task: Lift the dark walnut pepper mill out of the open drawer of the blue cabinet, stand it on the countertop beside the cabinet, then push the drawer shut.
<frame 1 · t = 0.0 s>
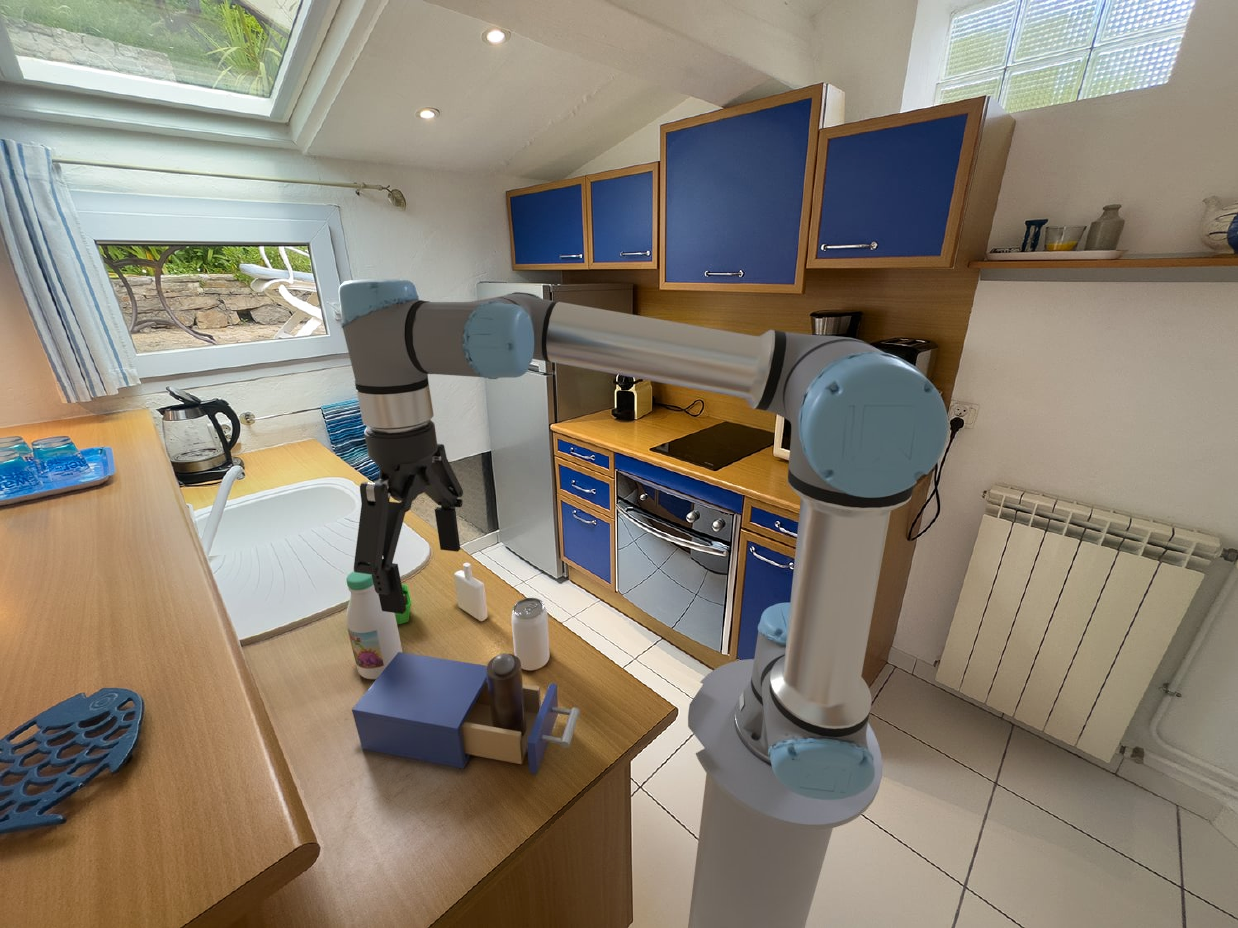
hand: (425, 577, 65), 31 cm above the counter, tool pointing down, fingers open, 13 cm apart
perfume bottle: (473, 612, 105), on the counter
pepper mill: (510, 729, 77), point 2 cm above the counter, touching drawer
milk bottle: (381, 665, 91), on the counter
fruit basket: (383, 620, 102), on the counter
drawer: (512, 720, 76), point 4 cm above the counter, slide at 10.0 cm, touching pepper mill
cabinet: (432, 725, 80), on the counter
can: (532, 659, 93), on the counter
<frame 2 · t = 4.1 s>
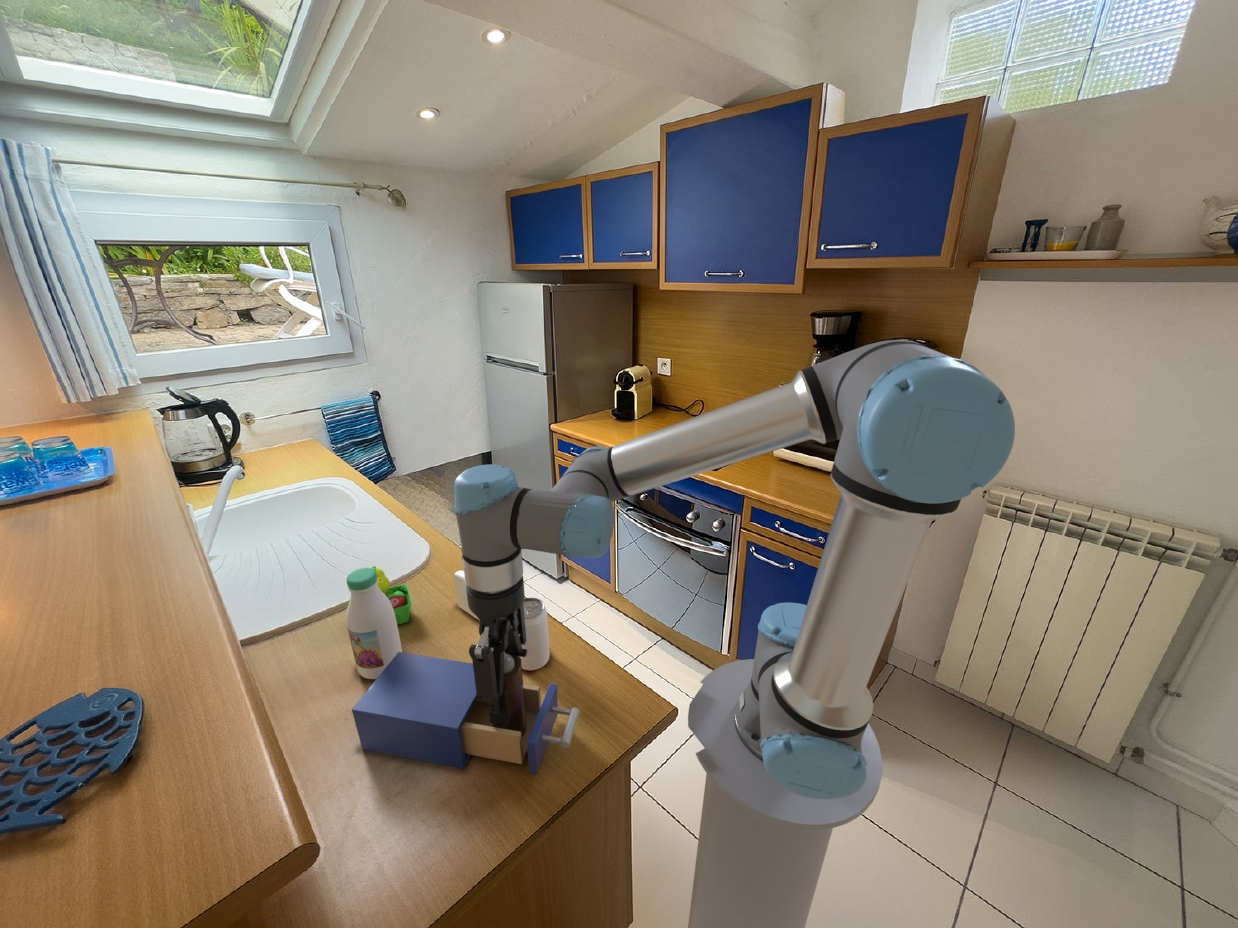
hand: (507, 705, 75), 7 cm above the counter, tool pointing down, fingers closed on pepper mill, 5 cm apart
pepper mill: (510, 729, 77), point 2 cm above the counter, touching drawer, gripper
everything else where it was.
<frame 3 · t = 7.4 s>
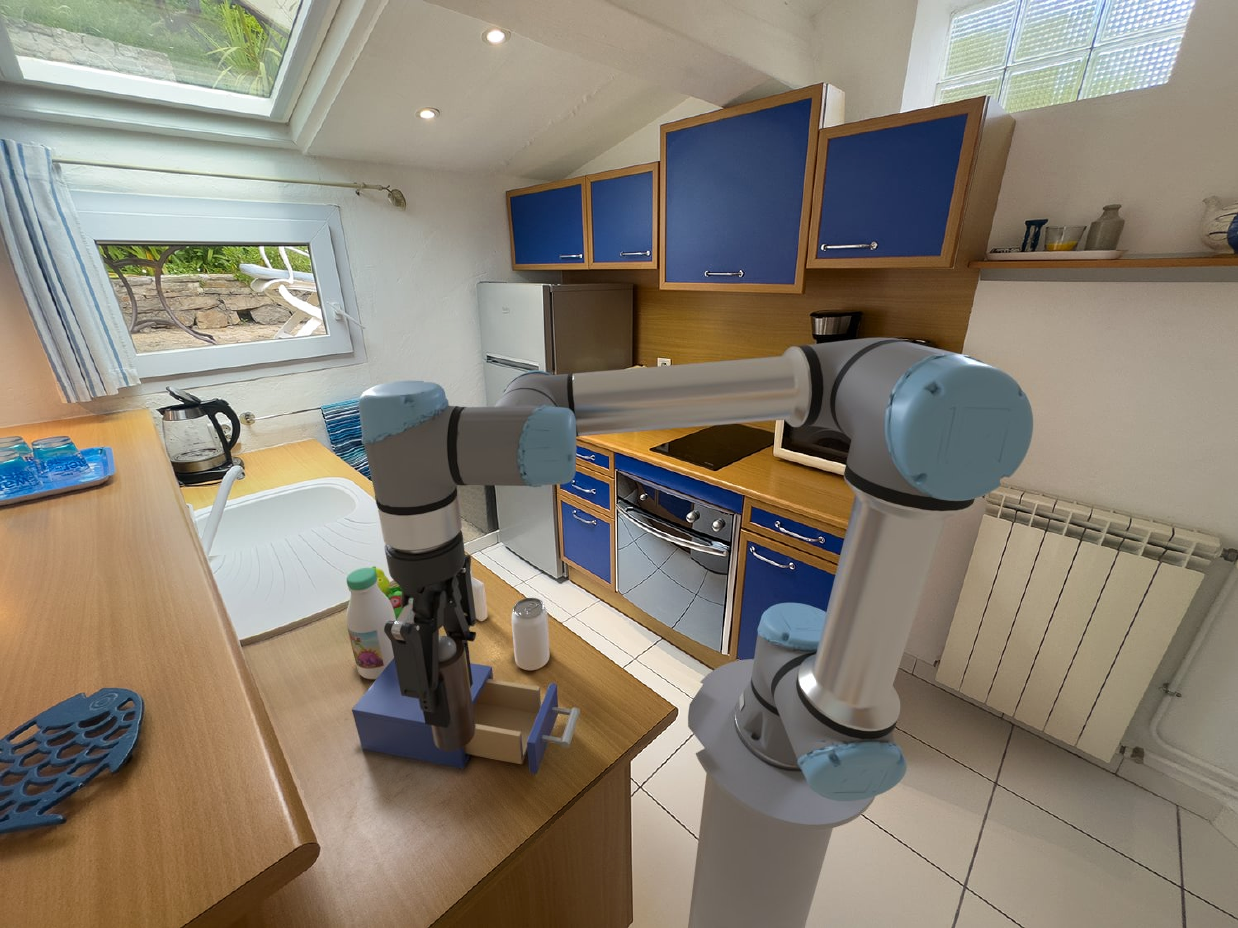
hand: (450, 702, 59), 21 cm above the counter, tool pointing down, fingers closed on pepper mill, 5 cm apart
pepper mill: (454, 732, 61), point 15 cm above the counter, touching gripper
drawer: (512, 720, 76), point 4 cm above the counter, slide at 10.0 cm
everything else where it was.
when the fingers open (5 cm above the counter, at t = 11.1 s): pepper mill stays where it is, on the counter.
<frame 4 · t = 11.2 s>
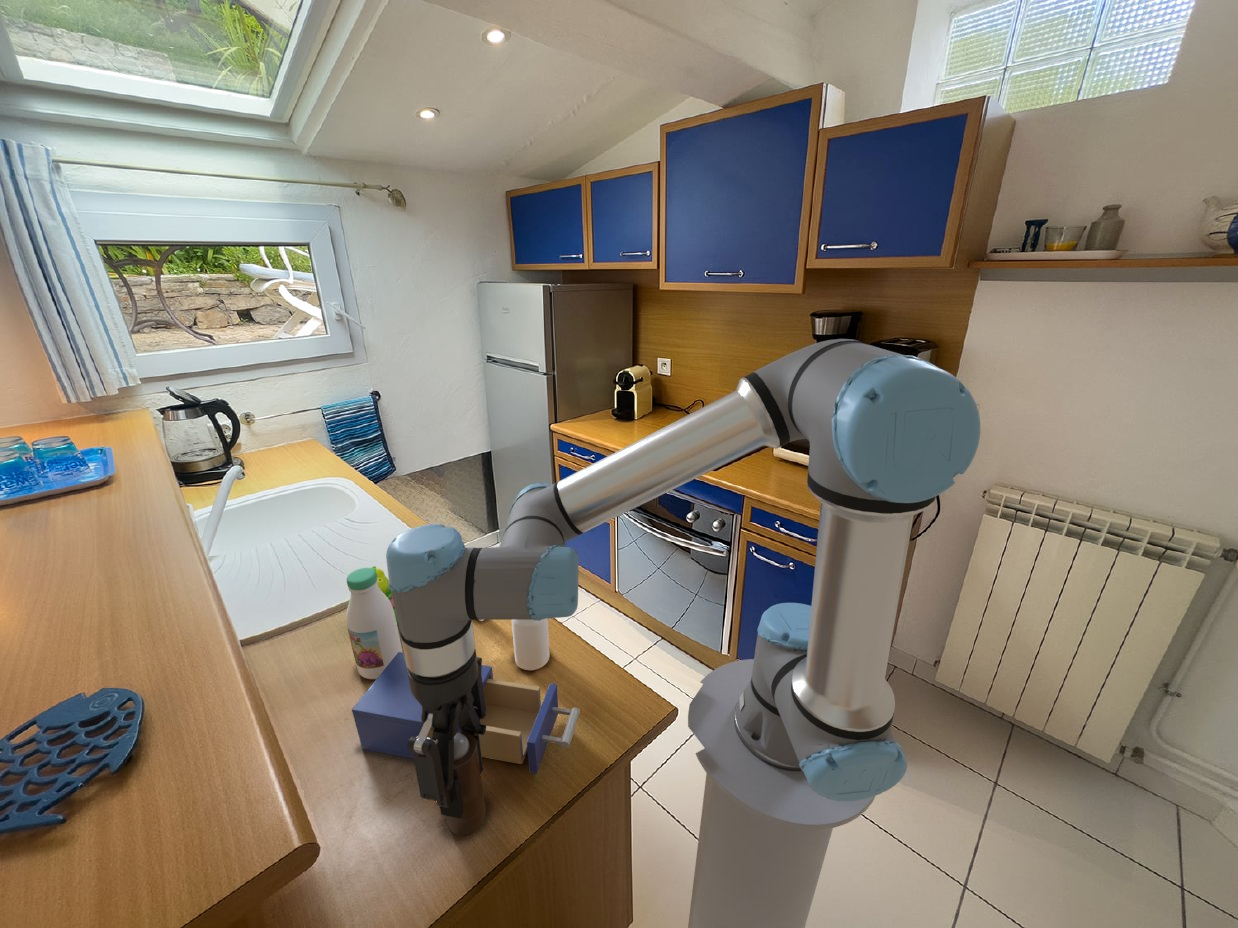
hand: (462, 790, 65), 5 cm above the counter, tool pointing down, fingers open, 5 cm apart
pepper mill: (466, 815, 67), on the counter
everything else where it was.
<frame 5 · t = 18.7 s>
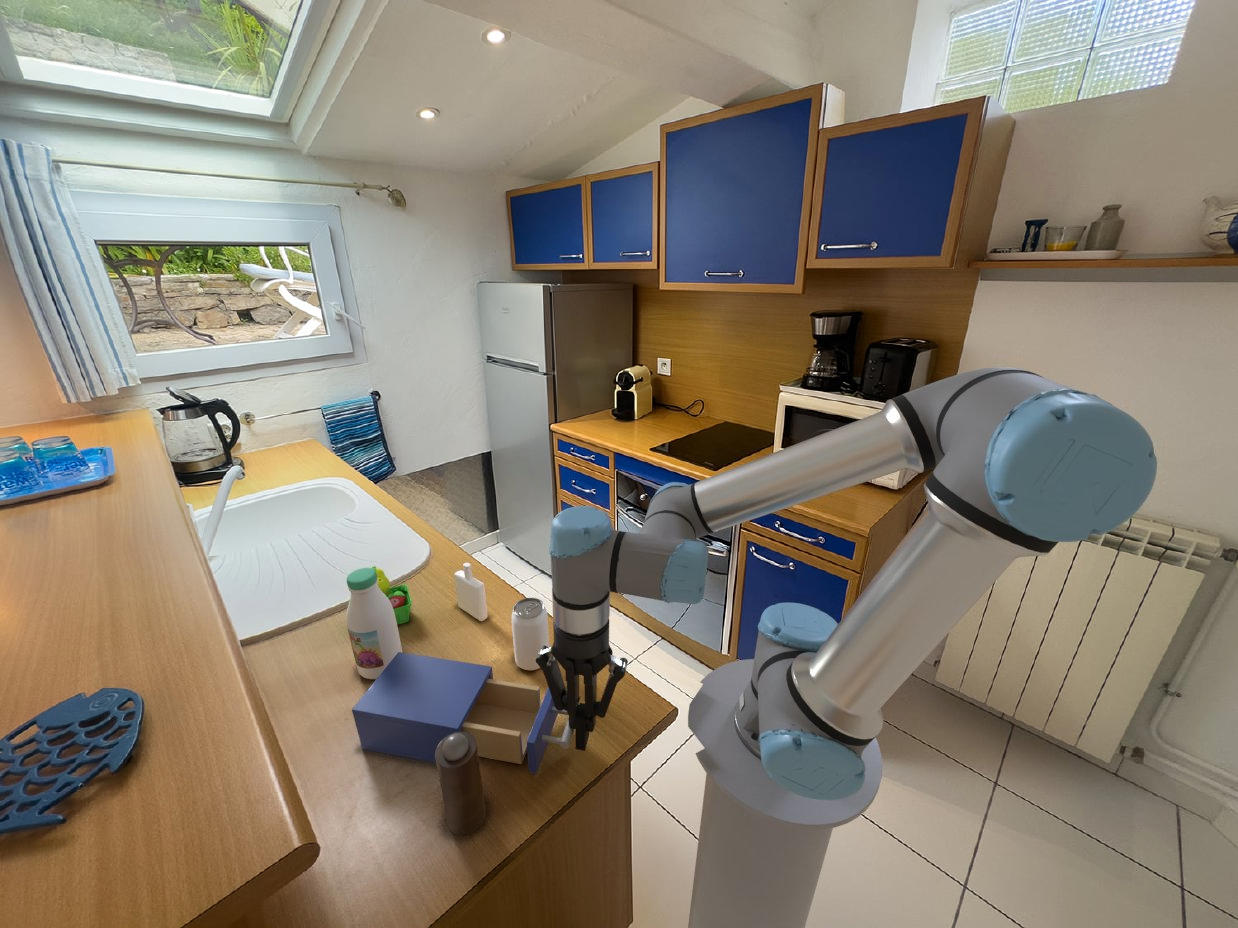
hand: (582, 741, 75), 2 cm above the counter, tool pointing down, fingers closed
drawer: (512, 720, 76), point 4 cm above the counter, slide at 9.9 cm, touching gripper
everything else where it was.
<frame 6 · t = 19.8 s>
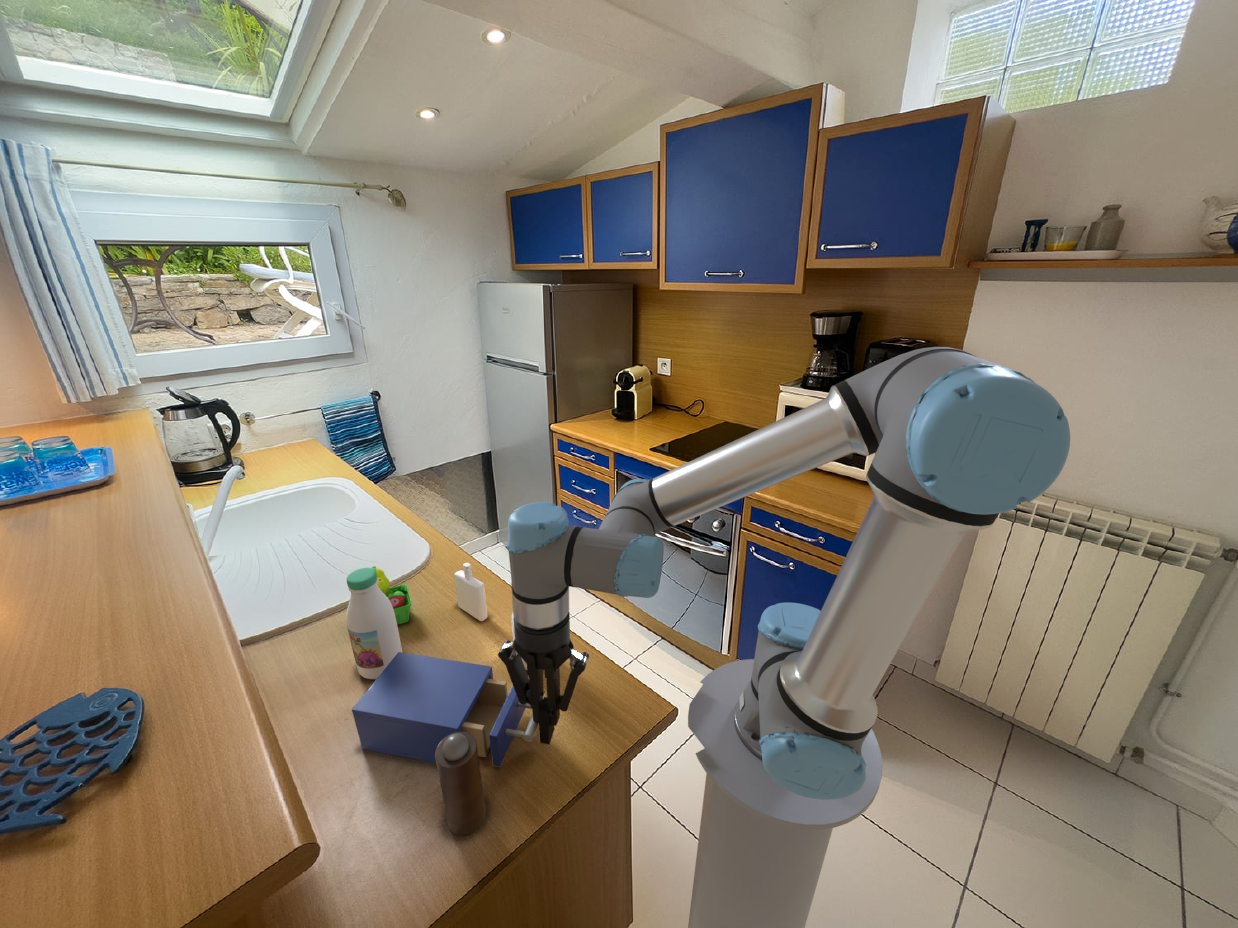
hand: (547, 735, 76), 2 cm above the counter, tool pointing down, fingers closed
drawer: (478, 714, 77), point 4 cm above the counter, slide at 4.4 cm, touching gripper
everything else where it was.
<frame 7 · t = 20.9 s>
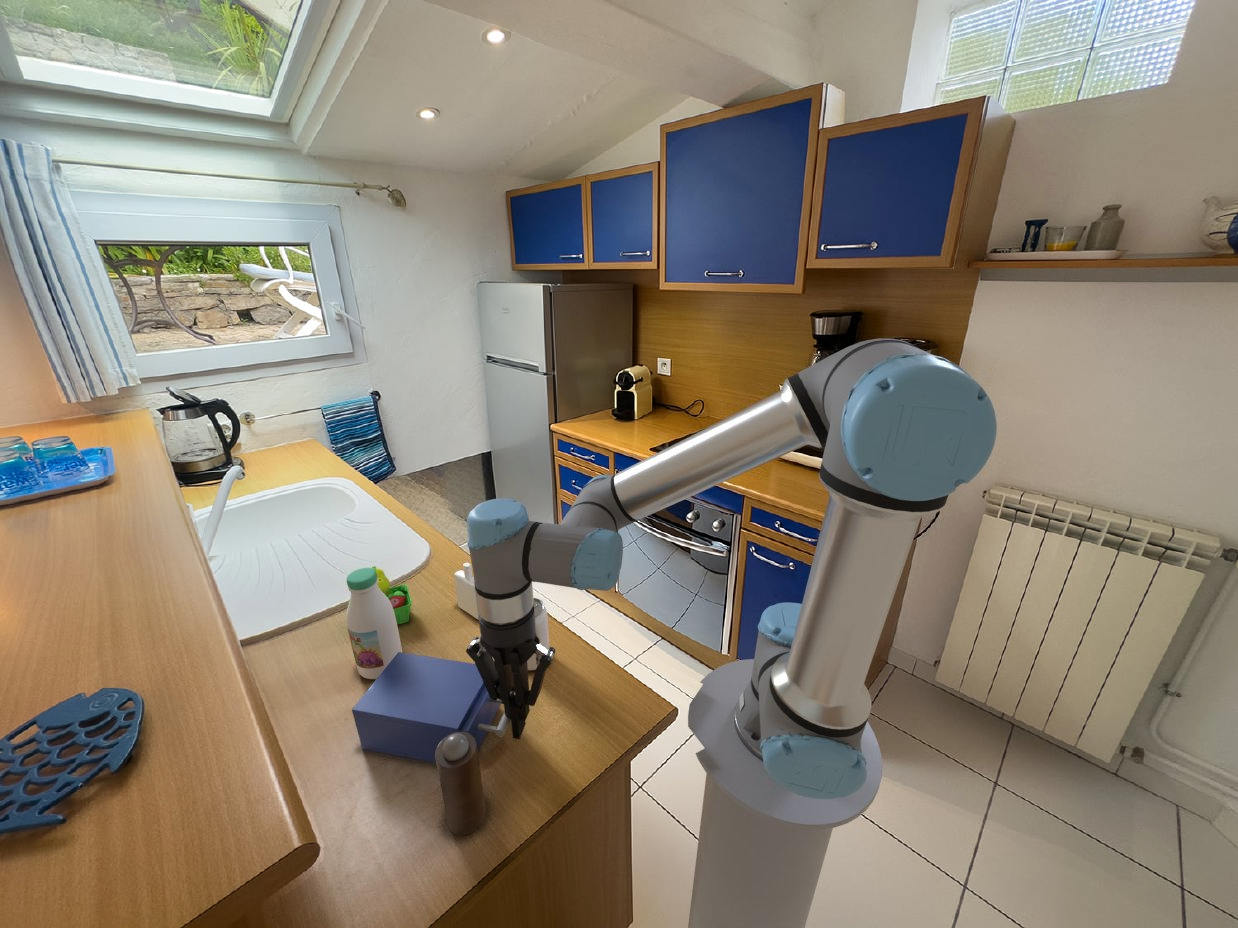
hand: (519, 730, 76), 2 cm above the counter, tool pointing down, fingers closed
drawer: (452, 710, 77), point 4 cm above the counter, slide at 0.0 cm, touching cabinet, gripper
everything else where it was.
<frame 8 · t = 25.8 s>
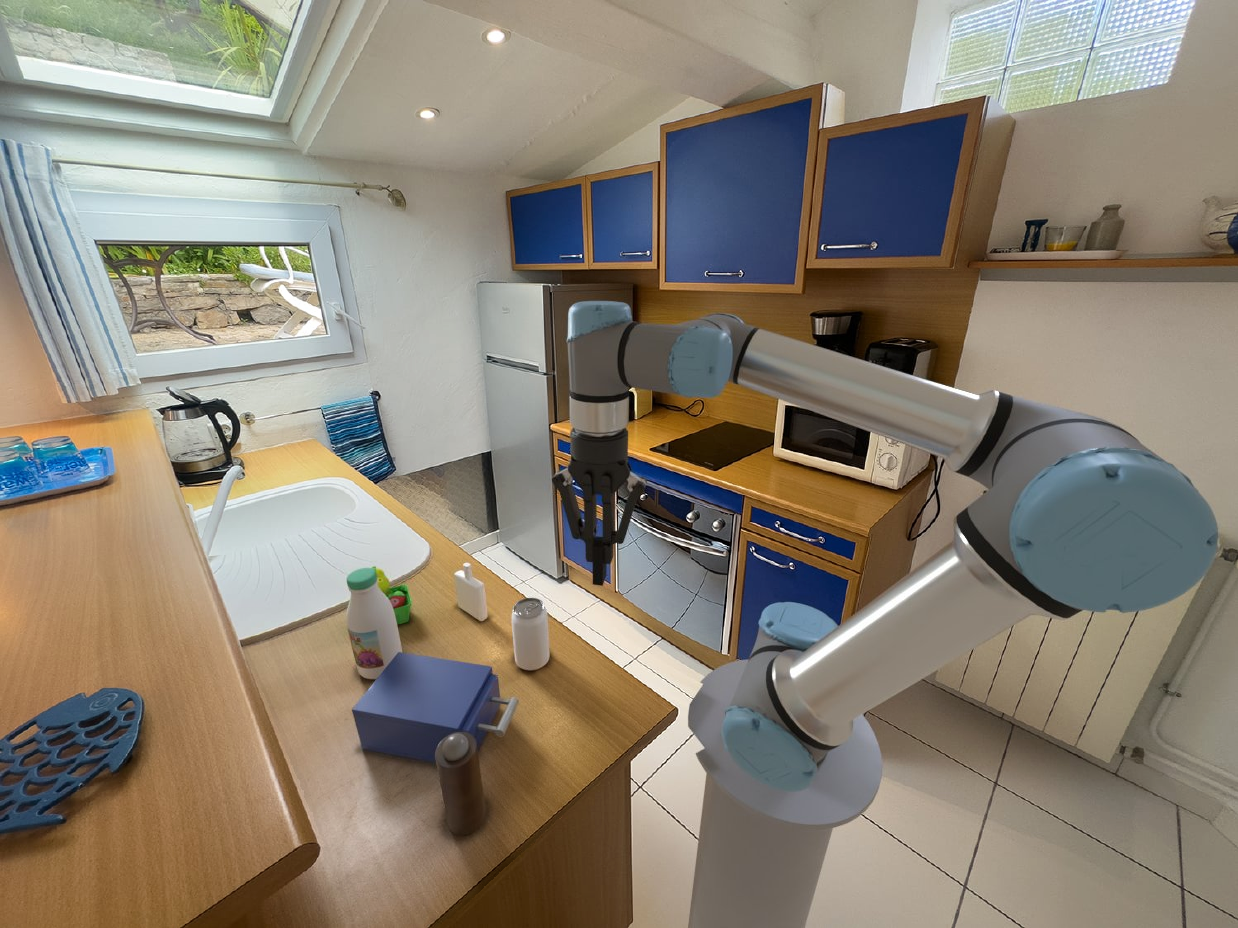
hand: (599, 579, 72), 26 cm above the counter, tool pointing down, fingers closed
drawer: (452, 710, 77), point 4 cm above the counter, slide at 0.0 cm, touching cabinet
everything else where it was.
at the end: pepper mill inside the target area (0.1 cm from its centre), on the counter; pepper mill tilted 0°; drawer slide at 0.0 cm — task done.
